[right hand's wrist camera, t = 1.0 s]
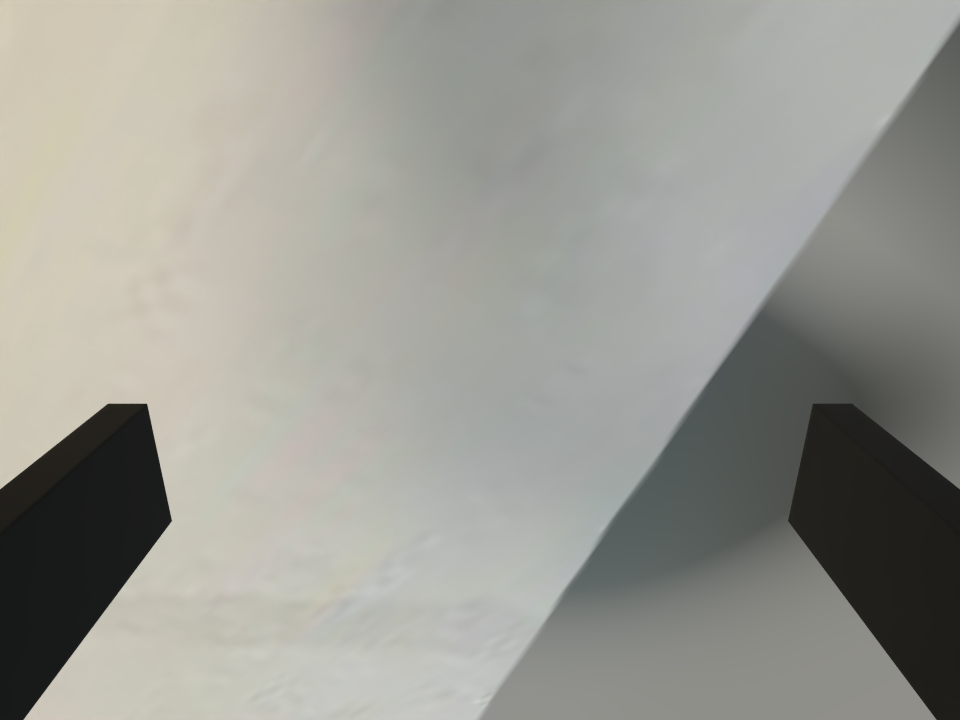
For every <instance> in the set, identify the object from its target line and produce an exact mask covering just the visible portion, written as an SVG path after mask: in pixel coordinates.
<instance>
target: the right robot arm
mask: <svg viewBox="0 0 960 720" xmlns="http://www.w3.org/2000/svg"><path fill="white" fill-rule="evenodd" d="M171 521H172V519H171V515H170V510H169V505H168V501H167V496H166V491H165V486H164V482H163V477H162V472H161V468H160V463H159V458H158V453H157V449H156V444H155V439H154V435H153V430H152V425H151V420H150V416H149V411H148V406H147V404H107V405H106V406H105V407H103V408H102V409H101V410H100V411H98V412H97V413H96V414H95V415H93V416H92V417H91V418H90V419H88V420H87V421H86V422H85V423H83V424H82V425H81V426H80V427H78V428H77V429H76V430H75V431H73V432H72V433H71V434H69V435H68V436H67V437H66V438H64V439H63V440H62V441H61V442H59V443H58V444H57V445H56V446H54V447H53V448H52V449H51V450H49V451H48V452H47V453H46V454H44V455H43V456H42V457H40V458H39V459H38V460H37V461H35V462H34V463H33V464H32V465H30V466H29V467H28V468H27V469H25V470H24V471H23V472H22V473H20V474H19V475H18V476H17V477H15V478H14V479H13V480H12V481H10V482H9V483H8V484H6V485H5V486H4V487H3V488H1V489H0V720H23V719H24V718H25V717H26V715H27V714H28V713H29V711H30V710H31V709H32V707H33V706H34V705H35V703H36V702H37V701H38V699H39V698H40V697H41V695H42V694H43V693H44V691H45V690H46V689H47V687H48V686H49V685H50V683H51V682H52V681H53V679H54V678H55V677H56V675H57V674H58V673H59V671H60V670H61V669H62V667H63V666H64V665H65V663H66V662H67V661H68V659H69V658H70V657H71V655H72V654H73V653H74V651H75V650H76V649H77V647H78V646H79V645H80V643H81V642H82V641H83V639H84V638H85V636H86V635H87V634H88V632H89V631H90V630H91V628H92V627H93V626H94V624H95V623H96V622H97V620H98V619H99V618H100V616H101V615H102V614H103V612H104V611H105V610H106V608H107V607H108V606H109V604H110V603H111V602H112V600H113V599H114V598H115V596H116V595H117V594H118V592H119V591H120V590H121V588H122V587H123V586H124V584H125V583H126V582H127V580H128V579H129V578H130V576H131V575H132V574H133V572H134V571H135V570H136V568H137V567H138V566H139V564H140V563H141V562H142V560H143V559H144V558H145V556H146V555H147V554H148V552H149V551H150V550H151V548H152V547H153V545H154V544H155V543H156V541H157V540H158V539H159V537H160V536H161V535H162V533H163V532H164V531H165V529H166V528H167V527H168V525H169V524H170V523H171ZM788 521H789V523H790V524H791V525H792V527H793V528H794V529H795V531H796V532H797V533H798V535H799V536H800V537H801V539H802V540H803V541H804V543H805V544H806V545H807V547H808V548H809V550H810V551H811V552H812V554H813V555H814V556H815V558H816V559H817V560H818V562H819V563H820V564H821V565H822V567H823V568H824V570H825V571H826V572H827V574H828V575H829V576H830V578H831V579H832V580H833V581H834V583H835V584H836V586H837V587H838V588H839V590H840V591H841V592H842V594H843V595H844V596H845V598H846V599H847V600H848V602H849V603H850V604H851V606H852V607H853V608H854V610H855V611H856V612H857V614H858V615H859V616H860V618H861V619H862V620H863V622H864V623H865V624H866V626H867V627H868V628H869V630H870V631H871V632H872V634H873V635H874V637H875V638H876V639H877V640H878V642H879V643H880V644H881V646H882V647H883V649H884V650H885V651H886V653H887V654H888V655H889V657H890V658H891V659H892V661H893V662H894V663H895V665H896V666H897V667H898V669H899V670H900V671H901V673H902V674H903V675H904V677H905V678H906V679H907V681H908V682H909V683H910V685H911V686H912V687H913V689H914V690H915V691H916V693H917V694H918V695H919V697H920V698H921V699H922V701H923V702H924V703H925V705H926V706H927V707H928V709H929V710H930V711H931V713H932V714H933V715H934V717H935V718H936V719H937V720H960V489H959V488H957V487H956V486H955V485H954V484H952V483H951V482H950V481H948V480H947V479H946V478H945V477H943V476H942V475H941V474H940V473H938V472H937V471H936V470H935V469H933V468H932V467H931V466H930V465H928V464H927V463H926V462H925V461H923V460H922V459H921V458H920V457H918V456H917V455H916V454H914V453H913V452H912V451H911V450H909V449H908V448H907V447H906V446H904V445H903V444H902V443H901V442H899V441H898V440H897V439H896V438H894V437H893V436H892V435H890V434H889V433H888V432H887V431H885V430H884V429H883V428H882V427H880V426H879V425H878V424H877V423H875V422H874V421H873V420H872V419H870V418H869V417H868V416H867V415H865V414H864V413H863V412H862V411H860V410H859V409H858V408H857V407H855V406H854V405H853V404H813V406H812V411H811V416H810V420H809V425H808V430H807V435H806V439H805V444H804V449H803V454H802V458H801V463H800V468H799V472H798V477H797V482H796V486H795V491H794V496H793V501H792V505H791V510H790V515H789V519H788Z"/></svg>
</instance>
